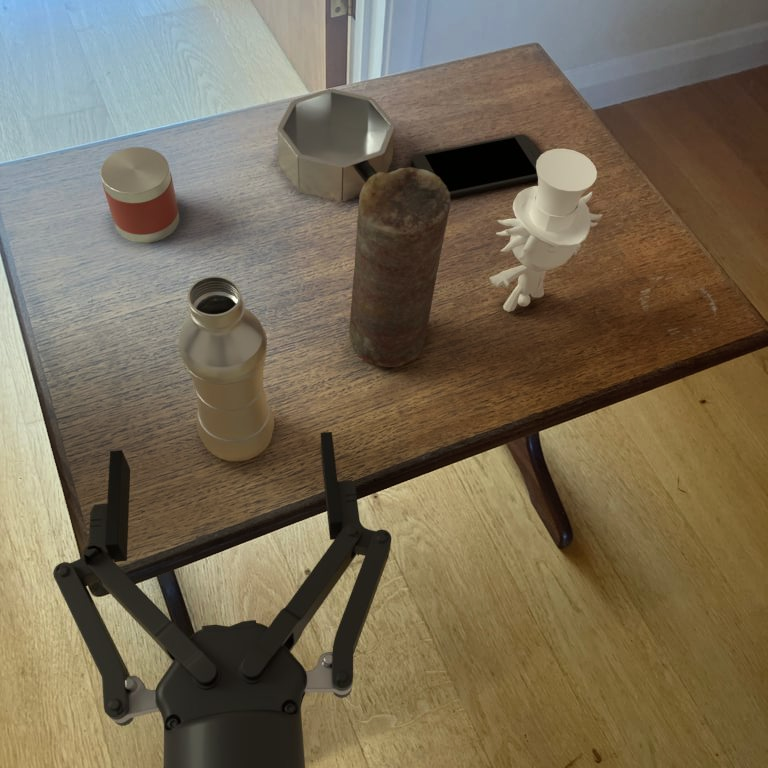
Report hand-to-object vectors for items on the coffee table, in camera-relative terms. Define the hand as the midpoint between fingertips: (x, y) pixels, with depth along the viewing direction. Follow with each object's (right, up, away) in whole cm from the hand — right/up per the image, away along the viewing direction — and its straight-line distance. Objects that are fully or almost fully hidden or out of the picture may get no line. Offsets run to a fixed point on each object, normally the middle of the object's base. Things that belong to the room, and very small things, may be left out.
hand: (224, 450), depth 55 cm
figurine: (+25, +12, +29) cm, 40 cm away
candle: (+11, +8, +25) cm, 29 cm away
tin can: (-14, +22, +32) cm, 41 cm away
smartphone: (+22, +29, +39) cm, 53 cm away
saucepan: (+7, +28, +37) cm, 47 cm away
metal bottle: (-2, 0, +18) cm, 18 cm away
